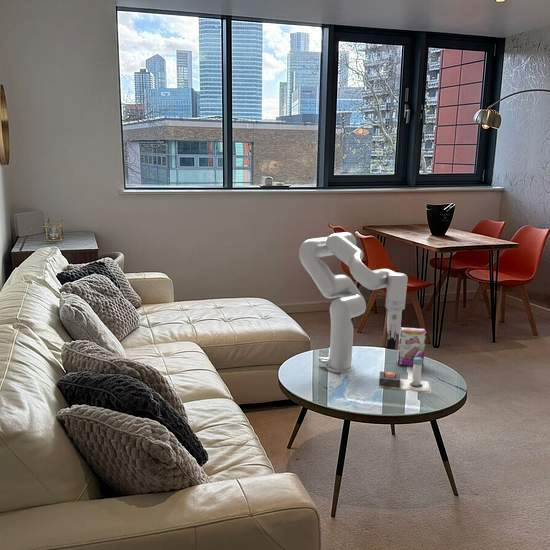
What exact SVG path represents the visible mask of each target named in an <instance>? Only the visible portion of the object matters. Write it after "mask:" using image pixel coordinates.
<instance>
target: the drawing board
mask: <svg viewBox="0 0 550 550" xmlns="http://www.w3.org/2000/svg"><path fill="white" fill-rule="evenodd" d="M385 372H386V371H379V379H378V380H379V382H378V388H379V389H390V390H397V391H398V390H399V391H408V392H417V393H418V392H419V393H426V394H432V390H431V383H430V381H428V380H421V381H420V386H413V385H412V378H411V379H410V378H401V373H400V372H394V373H395V378H386V377H385Z"/></svg>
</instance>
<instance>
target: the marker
mask: <svg viewBox="0 0 550 550" xmlns="http://www.w3.org/2000/svg"><path fill="white" fill-rule="evenodd" d="M422 361H423V362H424V360H423V359H422V358H420V357H414V362H413V363H414V365H413V366H412V367H413V368H412V378H411V380H412V385H413V386H420V381H422V380H421V378H422V368H423V367H422Z"/></svg>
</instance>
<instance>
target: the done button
mask: <svg viewBox="0 0 550 550" xmlns="http://www.w3.org/2000/svg"><path fill="white" fill-rule="evenodd" d="M384 372H385V377H386V378H395V373H396V372H393V371H384Z"/></svg>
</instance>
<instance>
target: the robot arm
mask: <svg viewBox="0 0 550 550" xmlns="http://www.w3.org/2000/svg"><path fill="white" fill-rule="evenodd" d="M298 253H299V254H298V256H299V260H300V263H301V265H302V266H303V268H304V269H305V271H307V273H308V274H309V276H310V277H311V278H312V280H313V282H314V283H315V285H316V286H317V288H318V290H319V291H320V293H321V295H322V296H323V297H324V298H327V299H334V300H333V301H331V304H330V305H329V315H330V341H329V342H330V345H329V356H326V357H324V356H319V357H318V362H320V364H325V369H326V370H327V371H328V372H332V373H336V374H342V372H343V373H344V372H351V371H353V370H355V369H356V367H355V365H354V364H353V363H352V359H353V343H354V325H353V322H352V318H355V317H359V316H361V315H363V314H364V313H365V311H366V309H367V303H366V299H365V297H364V296H363V295H362V293H361V292H360V290H359V289H358V287H357V285H356V284H355V282H354V281H353V280H352V278H353V279H354V280H355V281H357V283H359V284H360V285H361V286H363V287H364V288H365V289H367V290H370V291H374V290H375V291H376V290H379V289H384V288H385V289H386V296H385V303H384V304H385V306H384V307H385V308H386V309H387V317H386V318H387V320H386V321H387V323H386V328H387V330H386V331H387V334H388V337H387V341H386V342H387V343H386V349H387V350H396V343H397V338H396V337H397V335H398V336H399V334H400V327H401V326H402V313H403V310H405V308H406V300H407V299H406V298H407V288H408V277H409V276H408V275H407V274H406V273H403V272H396V271H394V270H391V269H389V268H380V269H379V268H378V269H374V270H371V268H369V267H367V265H365V264H364V263H363V262H362V260H363V258H364V252H363V250H362V249H361V248H359V247H358V246H357V239H356V237H355V235H353V233H351V232H347V231H344V232H335V233H331V234H330V235H328V236H323V237H315V238H309V239H306V240H304V241H303V242H302V243H301V245H300V247H299V252H298ZM329 256H335V257H336V258H337V259H339V260H340V261H341V262H343V263H344V264H345V265H346V266H347V267H348V268H349V271H350V274H351V276H352V278H350V276H347V275H346V274H334V273H333V272H332V271H331V269H330V267H329V266H328V265H327V264H326V263H325V261H323V260H322V259H320V258H324V257H329ZM335 298H336V299H335Z"/></svg>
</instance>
